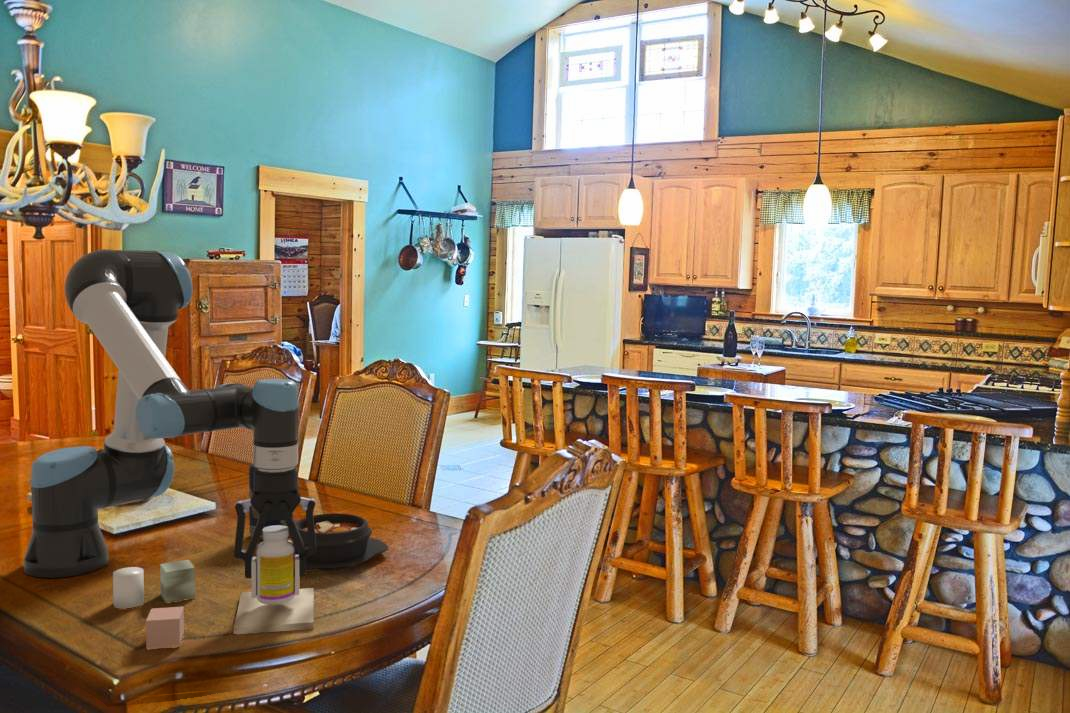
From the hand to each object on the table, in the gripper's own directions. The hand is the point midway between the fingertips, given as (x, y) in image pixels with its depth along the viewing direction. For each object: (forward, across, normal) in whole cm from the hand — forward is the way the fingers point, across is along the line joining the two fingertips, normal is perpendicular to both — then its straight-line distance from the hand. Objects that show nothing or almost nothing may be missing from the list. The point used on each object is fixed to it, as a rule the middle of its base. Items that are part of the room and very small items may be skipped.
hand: (275, 593), depth 153 cm
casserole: (+4, +10, +26) cm, 28 cm away
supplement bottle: (+1, 0, 0) cm, 1 cm away
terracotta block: (+4, -17, -9) cm, 20 cm away
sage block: (+4, -18, +11) cm, 21 cm away
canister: (+4, -3, +45) cm, 45 cm away
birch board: (+4, 0, 0) cm, 4 cm away
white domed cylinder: (+4, -26, +9) cm, 28 cm away
